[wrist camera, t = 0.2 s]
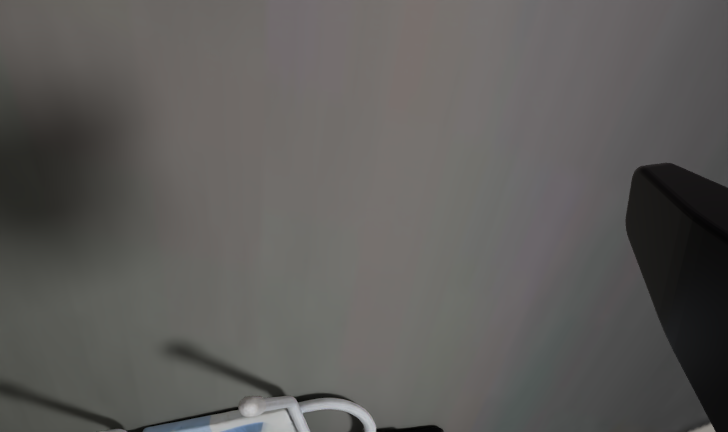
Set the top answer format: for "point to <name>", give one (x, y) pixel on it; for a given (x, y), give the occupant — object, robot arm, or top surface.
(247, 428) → the wall mount rack
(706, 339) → the robot arm
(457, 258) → the top surface
